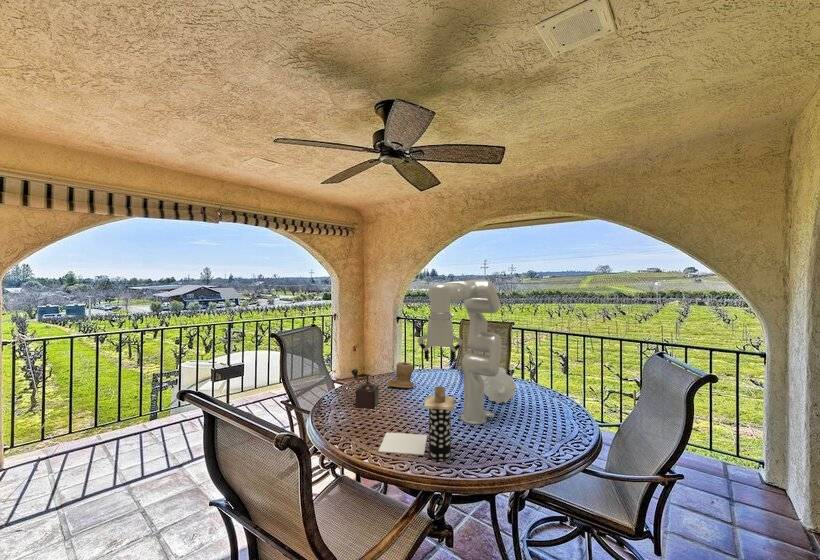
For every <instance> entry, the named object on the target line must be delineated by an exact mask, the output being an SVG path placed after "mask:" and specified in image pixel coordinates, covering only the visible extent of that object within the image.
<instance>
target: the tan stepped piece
mask: <svg viewBox="0 0 820 560" xmlns="http://www.w3.org/2000/svg"><path fill="white" fill-rule="evenodd" d="M395 366H396V379H394V380H389V381H388V383H387V386H388V387H392V388H400V389H411V388H413V387H414V383H413V382H411V378H412V374H413V372H414V366H413V364H412V363H410V362H401V361H400V362H397V364H396V365H395Z"/></svg>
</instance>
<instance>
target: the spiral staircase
mask: <svg viewBox="0 0 820 560" xmlns="http://www.w3.org/2000/svg"><path fill="white" fill-rule="evenodd" d="M480 376H481V377H482V379H483V382H484V395H485V396H487V398H488V401H492V402H495V403H496V404H497V405H498V404H502V403H504V404H506V403H508V401H510V400H511V399H512V400H513V399H514V397H515V396H516V388H517V385H516V383H515V382H514V378H513V377H512V376H511V375H509V374H508V373H507V370H506V369H505V368H503V367H501V366H499V372H498V374H497V376H495V377H490V376H483V375H480Z"/></svg>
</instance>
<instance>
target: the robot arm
mask: <svg viewBox="0 0 820 560" xmlns="http://www.w3.org/2000/svg"><path fill="white" fill-rule="evenodd" d="M427 296H428V298H429V300H430V301H429V302H430V305H429V306H430V308H429V309H430V312H429V313H430V315H429V316H430V318H429V320H428V321H427V329H426V334H425V335H423V336H420V337H418V338H417V342H418V344H419V346H420V347H421V349H422V350H423V351H424V359H425V361H426V362H429V359H430V356H429V352H430V350H429V348H430V347H436V348H437V347H440V348H444V347H445V348H449V349H450V350H451V361H450V362H451V363H452V364H453V363H454V361H455V360H456V352H457V351H458V350H459V349H460V348H461V346H462V344H463V339H462V338H459V336H456V335H454V327H453V326H454V325H453V320H451V319H452V318H454V313H451V304H452V303H455V304H456V303H459V302H461V301H463V303H464V307H465V310H466V312H467V315H468V319H469V329H468V338H467V347H468V349H469V350H471V351H474V352H482V353H489V355H487V354H481V353H473V352H472V353H471V352H470V353H466V354H464V356H463V357H462V360H461V365H462V366H461V367H462V372H463V413H461V415H460V420H461V421H462V422H463V423H466V424H470V425H483V424H485V423H487V422H488V418H495V413H494V412H491V411H486V410H485V393H484V382H483V379H482V377H481V376H480V375H483V376H490V377H495V376H497V374H498V372H499V367H501V366H500V364H501V355H502V354H501V353H502V339H501V336H500V335H499V334H498V333H495V332H488V321H487V318H486V316H485V315H484V313H485V314H496V313H498V311H499V310H500V307H501V303H500V298H499V295H498V293H497V291H496V287H495V286H494V284H493V283H492V282H491V281H490V280H485V279H484V280H481V279H479V280H477V279H476V280H475V279H471V280H470V279H469V280H459V281H457V280H456V281H449V282H437V283H432V284H431V285H430V286H429V288H428V290H427ZM424 340H426V345H425V344H424V343H423V341H424ZM454 341H456V342H457V344H456V345H455V346H454Z"/></svg>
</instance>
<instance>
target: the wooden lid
mask: <svg viewBox="0 0 820 560" xmlns="http://www.w3.org/2000/svg"><path fill="white" fill-rule="evenodd" d="M424 401H425V402H424V407H423V408H424V409H428V410H429V409H444V410H451V411H454V410H455V396H449V395H448V396H447V395H446V387H444V386H435V387H434V395H428V394H427V395H426V398H425V400H424Z"/></svg>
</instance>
